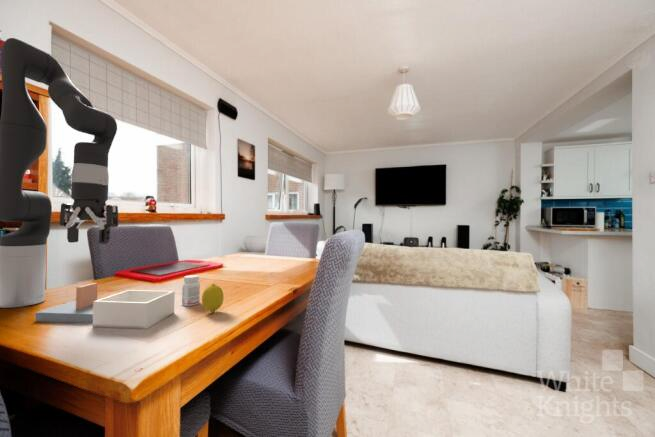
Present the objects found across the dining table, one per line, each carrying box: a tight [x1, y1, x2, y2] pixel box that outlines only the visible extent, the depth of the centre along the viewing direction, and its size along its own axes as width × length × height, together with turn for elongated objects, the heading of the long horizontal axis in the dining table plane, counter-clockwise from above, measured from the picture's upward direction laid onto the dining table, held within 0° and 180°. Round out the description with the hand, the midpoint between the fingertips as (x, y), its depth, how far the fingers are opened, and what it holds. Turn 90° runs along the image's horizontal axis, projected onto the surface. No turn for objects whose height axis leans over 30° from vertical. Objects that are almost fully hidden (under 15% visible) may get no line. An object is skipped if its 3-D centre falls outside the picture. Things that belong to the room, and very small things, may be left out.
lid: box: [35, 282, 100, 324], centre depth 74 cm, size 14×12×8 cm
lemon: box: [201, 283, 224, 313], centre depth 77 cm, size 6×6×8 cm
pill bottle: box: [181, 274, 201, 307], centre depth 84 cm, size 5×5×8 cm
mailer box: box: [92, 289, 176, 330], centre depth 71 cm, size 13×11×6 cm
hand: (88, 242), depth 74 cm, fingers open, 8 cm apart
